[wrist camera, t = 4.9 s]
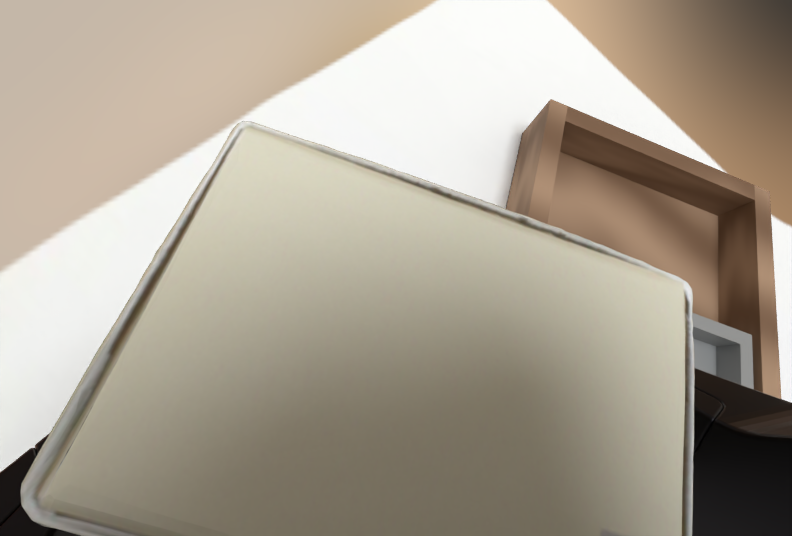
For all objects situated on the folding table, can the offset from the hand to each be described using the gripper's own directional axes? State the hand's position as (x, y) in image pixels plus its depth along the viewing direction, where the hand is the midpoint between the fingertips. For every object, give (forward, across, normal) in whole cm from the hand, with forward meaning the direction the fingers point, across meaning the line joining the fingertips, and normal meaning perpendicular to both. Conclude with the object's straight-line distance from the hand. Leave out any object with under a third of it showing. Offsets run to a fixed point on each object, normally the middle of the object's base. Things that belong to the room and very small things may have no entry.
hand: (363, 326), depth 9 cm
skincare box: (+4, 0, +6) cm, 7 cm away
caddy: (+10, -18, +7) cm, 21 cm away
